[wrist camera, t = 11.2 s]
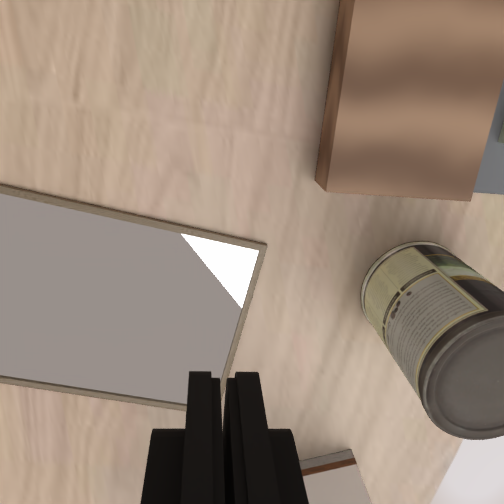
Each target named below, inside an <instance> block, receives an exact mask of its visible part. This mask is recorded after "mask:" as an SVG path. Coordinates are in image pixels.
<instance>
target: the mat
mask: <svg viewBox="0 0 504 504" xmlns="http://www.w3.org/2000/svg"><path fill="white" fill-rule="evenodd" d="M503 122H504V80H503V83H502V87H501V91H500V94H499V98H498V102H497V106H496V109H495V113H494V117H493V120H492V124H491V128H490V131H489V135H488V139H487V142H486V146H485V150H484V153H483V157H482V161H481V165H480V168H479V172H478V176H477V179H476V183H475V187H474V190H473V192H476V193H490V194H504V144H503V143H499V142H498V140H499V136H500V133H501V129H502V126H503Z"/></svg>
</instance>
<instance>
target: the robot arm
mask: <svg viewBox="0 0 504 504" xmlns="http://www.w3.org/2000/svg"><path fill="white" fill-rule="evenodd" d="M141 504H309V501H308V497H307V493H306V489H305V484H304V480H303V476H302V471H301V467H300V463H299V459H298V454H297V450H296V446H295V442H294V437H293V434H292V431H291V430H290V429H268V425H267V419H266V414H265V408H264V402H263V396H262V390H261V384H260V378H259V373H258V372H236V373H235V378H227V381H226V393H225V406H224V419H223V431H222V411H221V387H220V378H212V374H211V371H189V379H188V395H187V410H186V426H185V429H153V430H152V434H151V440H150V446H149V453H148V459H147V466H146V472H145V478H144V485H143V491H142V498H141Z"/></svg>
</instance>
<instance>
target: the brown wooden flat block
mask: <svg viewBox="0 0 504 504" xmlns="http://www.w3.org/2000/svg"><path fill="white" fill-rule="evenodd" d="M503 80H504V0H340V5H339V12H338V19H337V26H336V33H335V40H334V48H333V55H332V62H331V69H330V76H329V83H328V90H327V97H326V104H325V112H324V119H323V126H322V133H321V140H320V147H319V154H318V161H317V168H316V175H315V181H316V182H317V183H318V184H319V185H320V186H321V187H322V188H323V189H324V190H325V191H326V192H336V193H351V194H366V195H381V196H396V197H411V198H426V199H441V200H456V201H471V198H472V194H473V190H474V187H475V183H476V179H477V176H478V172H479V168H480V165H481V161H482V157H483V153H484V150H485V146H486V142H487V139H488V135H489V131H490V128H491V124H492V120H493V117H494V113H495V109H496V106H497V102H498V98H499V94H500V91H501V87H502V83H503Z"/></svg>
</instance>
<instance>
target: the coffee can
mask: <svg viewBox="0 0 504 504" xmlns="http://www.w3.org/2000/svg"><path fill="white" fill-rule="evenodd" d="M361 305H362V308H363V312H364V314H365V316H366V318H367V319H368V321H369V322H370V323H371V324H372V325H373V327H374V328H375V330H376V331H377V333H378V335H379V336H380V338H381V339H382V341H383V342H384V344H385V345H386V347H387V349H388V350H389V352H390V354H391V355H392V356H393V358H394V360H395V361H396V363H397V364H398V366H399V367H400V369H401V370H402V372H403V373H404V375H405V377H406V378H407V380H408V381H409V383H410V384H411V386H412V388H413V389H414V391H415V392H416V394H417V395H418V397H419V398H420V400H421V402H422V405H423V407H424V409H425V411H426V413H427V415H428V416H429V418H430V419H431V421H432V422H433V423H434V424H435V425H436V426H437V427H439V428H440V429H441V430H443V431H444V432H446V433H448V434H450V435H453V436H456V437H459V438H464V439H470V440H484V439H491V438H496V437H500V436H503V435H504V292H503V291H502V290H500V289H499V288H498V287H496V286H495V285H493V284H492V283H491V282H489V281H488V280H487V279H485V278H484V277H483V276H482V275H480V274H479V273H477V272H476V271H475V270H473V269H472V268H471V267H469V266H468V265H466V264H465V263H464V262H463V261H461V260H460V259H459V258H457V257H456V256H455V255H454V254H453V253H452V252H451V251H449V250H448V249H447V248H445V247H443V246H441V245H438V244H436V243H431V242H410V243H406V244H403V245H400V246H398V247H395V248H393V249H392V250H390V251H388V252H387V253H385V254H384V255H383V256H382V257H380V258H379V259H378V260H377V261H376V262H375V263H374V264H373V265H372V267H371V268H370V270H369V272H368V274H367V275H366V277H365V279H364V282H363V285H362V291H361Z"/></svg>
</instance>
